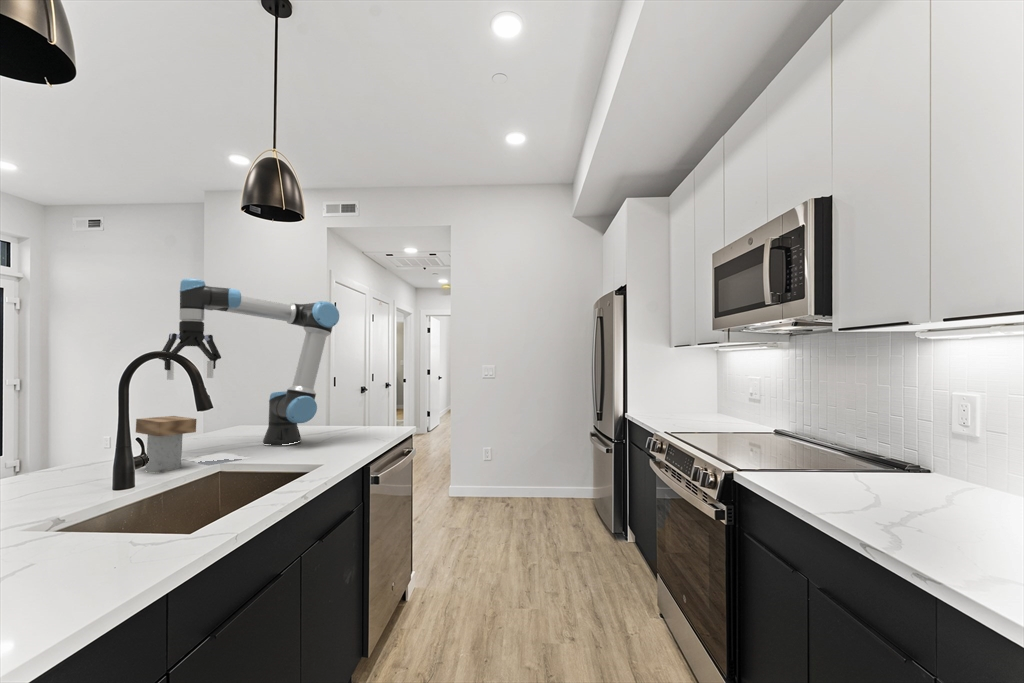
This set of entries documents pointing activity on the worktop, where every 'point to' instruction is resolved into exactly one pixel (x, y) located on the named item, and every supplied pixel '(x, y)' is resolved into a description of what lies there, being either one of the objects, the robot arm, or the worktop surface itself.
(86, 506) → the worktop surface
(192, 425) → the board
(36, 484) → the worktop surface
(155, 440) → the grey speckled cylinder
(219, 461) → the mat
